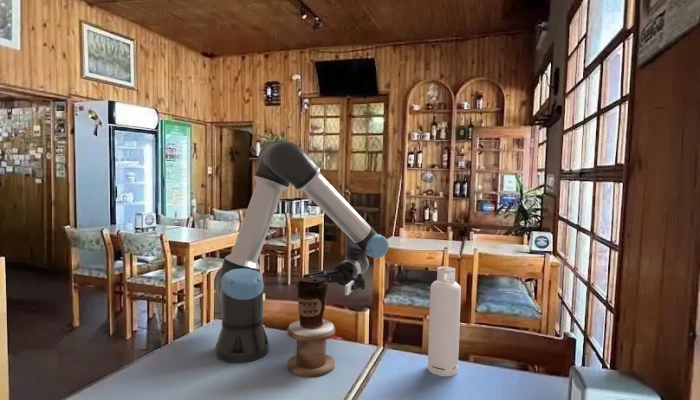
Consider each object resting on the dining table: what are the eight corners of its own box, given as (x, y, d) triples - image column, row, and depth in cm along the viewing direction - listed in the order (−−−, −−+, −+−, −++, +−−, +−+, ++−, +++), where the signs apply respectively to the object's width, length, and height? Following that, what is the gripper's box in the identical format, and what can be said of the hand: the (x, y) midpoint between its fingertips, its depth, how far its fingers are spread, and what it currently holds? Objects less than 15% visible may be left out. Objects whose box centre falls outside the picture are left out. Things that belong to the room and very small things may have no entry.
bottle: (449, 361, 123) (453, 264, 121) (463, 375, 115) (467, 271, 113) (423, 364, 121) (426, 265, 119) (434, 377, 113) (438, 272, 111)
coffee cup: (322, 332, 113) (323, 283, 112) (292, 329, 114) (292, 281, 114) (330, 321, 121) (331, 275, 121) (301, 318, 123) (302, 273, 122)
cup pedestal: (277, 365, 118) (277, 325, 118) (312, 351, 128) (312, 314, 127) (309, 382, 110) (309, 338, 109) (344, 365, 119) (345, 325, 118)
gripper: (382, 286, 142) (365, 305, 122) (312, 279, 150) (285, 296, 130) (383, 264, 142) (365, 279, 122) (313, 258, 150) (285, 271, 129)
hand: (324, 288), depth 126 cm, fingers open, 13 cm apart
